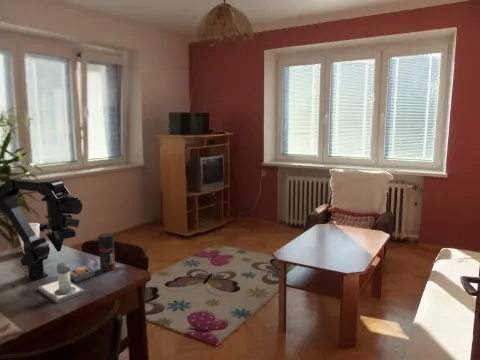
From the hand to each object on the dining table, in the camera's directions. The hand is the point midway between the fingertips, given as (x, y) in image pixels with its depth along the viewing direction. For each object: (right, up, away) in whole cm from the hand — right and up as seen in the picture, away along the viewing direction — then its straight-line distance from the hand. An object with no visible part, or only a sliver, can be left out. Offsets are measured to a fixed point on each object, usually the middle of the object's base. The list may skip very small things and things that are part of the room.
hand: (58, 251), depth 147 cm
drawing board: (+5, -14, -8) cm, 16 cm away
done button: (+6, -11, +6) cm, 14 cm away
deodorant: (+15, -10, +13) cm, 22 cm away
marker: (+7, -12, -10) cm, 18 cm away
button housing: (+6, -11, +6) cm, 14 cm away
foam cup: (-30, -7, +33) cm, 45 cm away
